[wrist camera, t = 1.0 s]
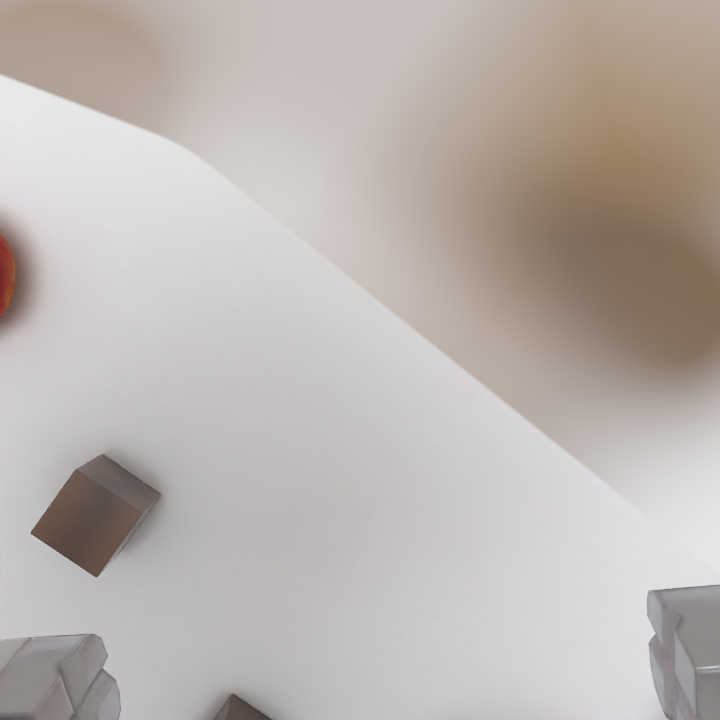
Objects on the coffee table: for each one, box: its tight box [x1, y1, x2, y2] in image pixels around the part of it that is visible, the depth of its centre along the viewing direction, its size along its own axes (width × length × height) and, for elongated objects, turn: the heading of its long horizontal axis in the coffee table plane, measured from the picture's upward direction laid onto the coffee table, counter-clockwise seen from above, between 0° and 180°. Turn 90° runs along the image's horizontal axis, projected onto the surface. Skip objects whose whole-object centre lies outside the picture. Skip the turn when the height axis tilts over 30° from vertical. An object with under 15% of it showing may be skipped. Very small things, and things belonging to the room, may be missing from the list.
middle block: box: [31, 455, 161, 577], centre depth 45 cm, size 5×5×5 cm
